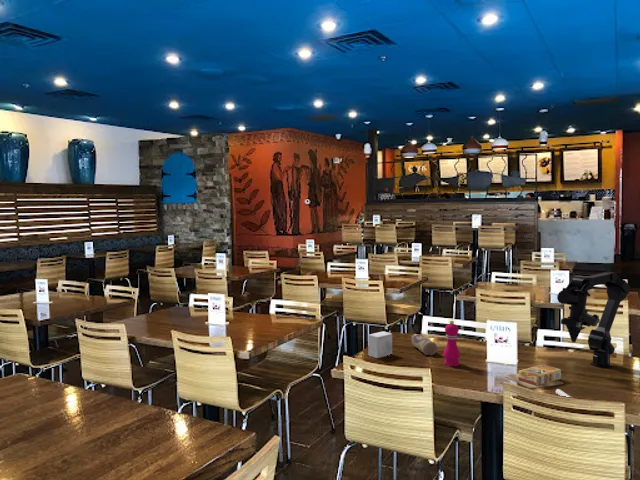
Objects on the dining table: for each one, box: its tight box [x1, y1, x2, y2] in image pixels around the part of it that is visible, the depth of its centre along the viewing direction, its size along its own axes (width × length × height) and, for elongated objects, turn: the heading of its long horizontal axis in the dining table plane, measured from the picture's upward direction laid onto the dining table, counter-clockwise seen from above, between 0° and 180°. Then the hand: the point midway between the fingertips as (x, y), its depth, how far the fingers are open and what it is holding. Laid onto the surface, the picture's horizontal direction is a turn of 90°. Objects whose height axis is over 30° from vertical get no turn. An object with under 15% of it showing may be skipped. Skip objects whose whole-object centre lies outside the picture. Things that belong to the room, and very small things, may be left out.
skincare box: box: [367, 330, 393, 359], centre depth 258 cm, size 10×6×10 cm, turn 129°
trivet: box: [503, 373, 564, 390], centre depth 219 cm, size 16×16×1 cm
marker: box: [555, 388, 572, 397], centre depth 194 cm, size 18×2×2 cm, turn 4°
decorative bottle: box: [410, 334, 438, 356], centre depth 269 cm, size 26×8×7 cm, turn 9°
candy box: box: [517, 364, 562, 386], centre depth 218 cm, size 9×4×15 cm
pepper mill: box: [443, 320, 461, 367], centre depth 241 cm, size 7×7×20 cm
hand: (573, 342), depth 227 cm, fingers closed
